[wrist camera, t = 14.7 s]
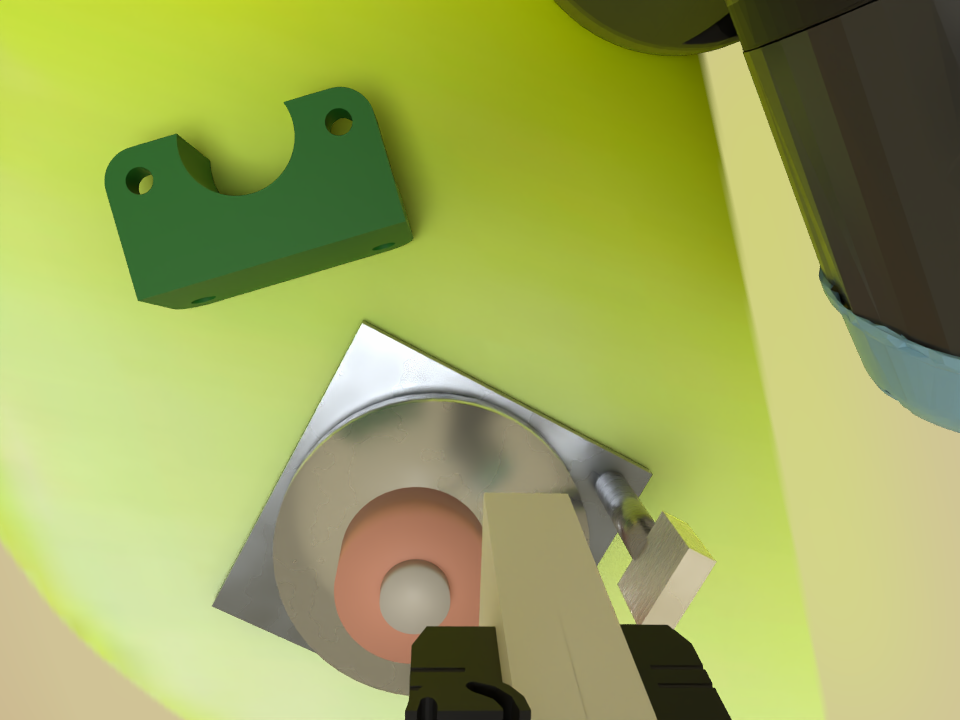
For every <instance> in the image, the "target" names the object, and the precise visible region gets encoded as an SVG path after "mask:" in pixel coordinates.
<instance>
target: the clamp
mask: <svg viewBox="0 0 960 720" xmlns="http://www.w3.org/2000/svg"><path fill="white" fill-rule="evenodd" d="M284 104H285V105H286V107H287V109H288V110H289V112H290V115H291V117H292V121H293V124H294V131H295V143H294V149H293V153H292V156H291V159H290V161H289V163H288V165H287V167H286V168H285V170H284V171H283V173H282V174H281V175H280V176H279V177H278V178H277V179H276V180H275V181H274V182H273V183H272V184H270V185H269V186H267V187H266V188H264V189H262V190H260V191H258V192H255V193H252V194H248V195H241V196H229V195H223V194H219V192H218V190H217V189H216V186H215V184H214V181H213V178H212V173H211V166H210V161H209V160H208V159H207V158H206V157H205V156H203V155H202V154H201V153H200V152H198V151H197V150H196V149H195V148H193V147H192V146H191V145H190V144H189V143H187V142H186V141H185V140H184V139H182V138H181V137H180V136H179V135H178V134H174V135H171V136H167V137H164V138H160V139H157V140H154V141H150V142H147V143H144V144H140V145H137V146H133V147H130V148H127V149H125V150H123V151H121V152H120V153H118V154H117V155H116V156H115V157H114V158H113V159H112V160H111V162H110V163H109V165H108V167H107V170H106V173H105V189H106V193H107V196H108V199H109V203H110V206H111V210H112V213H113V217H114V220H115V224H116V227H117V230H118V234H119V237H120V241H121V244H122V248H123V251H124V254H125V258H126V261H127V265H128V268H129V272H130V275H131V279H132V282H133V285H134V289H135V292H136V296H137V299H138V301H141V302H146V303H150V304H154V305H159V306H163V307H167V308H172V309H187V308H193V307H198V306H202V305H206V304H210V303H214V302H217V301H220V300H224V299H227V298H230V297H234V296H237V295H240V294H244V293H247V292H251V291H254V290H257V289H261V288H264V287H267V286H271V285H274V284H278V283H281V282H284V281H288V280H291V279H294V278H298V277H301V276H304V275H308V274H311V273H315V272H318V271H321V270H325V269H328V268H331V267H335V266H338V265H341V264H345V263H348V262H352V261H355V260H358V259H362V258H365V257H368V256H372V255H375V254H379V253H382V252H385V251H389V250H392V249H395V248H397V247H400V246H402V245H405V244H407V243H409V242H410V241H412V240H413V234H412V231H411V228H410V224H409V221H408V218H407V214H406V211H405V208H404V204H403V201H402V197H401V194H400V191H399V189H398V187H397V184H396V182H395V179H394V176H393V173H392V169H391V166H390V163H389V159H388V156H387V153H386V149H385V146H384V143H383V139H382V136H381V133H380V129H379V126H378V122H377V120H376V117H375V114H374V112H373V109H372V107H371V105H370V103H369V102H368V100H367V99H366V98H365V97H364V96H363V95H362V94H360V93H359V92H357V91H355V90H353V89H350V88H346V87H334V88H330V89H326V90H323V91H320V92H316V93H313V94H309V95H306V96H303V97H299V98H296V99H293V100H289V101H286V102H284ZM341 118H347V119H350V120H351V121H353V123H352V127H351V129H350V131H349V132H348V133H346V134H344V135H341V136H336V135H333V134H331V127H332V125H333V123H334V122H335V121H336V120H338V119H341ZM148 175H152V176H153V186H152V188H151V189H150V190H149V191H148V192H147V193H145V194H141V195H140V193H139V184H140V182H141V180H142V179H143V178H144V177H146V176H148Z"/></svg>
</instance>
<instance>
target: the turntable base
mask: <svg viewBox="0 0 960 720" xmlns="http://www.w3.org/2000/svg"><path fill="white" fill-rule="evenodd" d="M427 393H439V394H454V395H460V396H465V397H471V398H475V399H478V400H481V401H484V402H487V403H491V404H493V405H495V406H498V407H500V408H502V409H504V410H506V411H508V412H510V413H512V414H514V415H515V416H517V417H518V418H520V419H521V420H523V421H524V422H526V423H527V424H529V425H530V426H531V427H532V428H533V429H535V430H536V431H537V432H538V433H539V434H540V435H542V436H543V437H544V439H545V440H546V441H547V442H548V443H549V444H550V445H551V446H552V447H553V449H554V450H555V451H556V452H557V454H558V455H559V457H560V458H561V460H562V461H563V463H564V464H565V466H566V468H567V470H568V472H569V474H570V476H571V478H572V480H573V482H574V484H575V486H576V488H577V490H578V492H579V494H580V497H581V500H582V503H583V506H584V509H585V512H586V517H587V523H588V528H589V542H590V551H591V553H592V556H593V558H594V561H595V563H596V566H597V565H598V563H599V562H600V560H601V558H602V557H603V555H604V553H605V552H606V550H607V549H608V547H609V545H610V544H611V542H612V540H613V539H614V537H615V535H616V534H617V532H618V533H619V535H620V537H621V539H622V541H623V542H624V544H625V546H626V548H627V550H628V551H629V553H630V555H631V557H632V559H633V560H632V561H631V563H630V565H629V566H628V568H627V569H626V571H625V573H624V574H623V576H622V578H621V579H620V581H619V583H618V586H619V588H620V590H621V592H622V595H623V597H624V599H625V601H626V603H627V605H628V607H629V609H630V611H631V613H632V615H633V617H634V619H635V622H636V624H647V625H669V626H670V627H671V628H672V629H674V628H675V627H676V625H677V624H678V622H679V620H680V619H681V617H682V616H683V614H684V613H685V611H686V609H687V608H688V606H689V605H690V603H691V601H692V600H693V598H694V597H695V595H696V594H697V592H698V590H699V589H700V587H701V586H702V584H703V582H704V581H705V579H706V578H707V576H708V575H709V573H710V571H711V570H712V568H713V567H714V565H715V563H716V561H715V559H714V558H713V557H712V555H711V554H710V553H709V551H708V550H707V549H706V547H705V546H704V545H703V543H702V542H701V541H700V539H699V538H698V537H697V536H696V534H695V533H694V532H693V530H692V529H691V528H690V526H689V525H688V524H687V523H685V522H684V521H682V520H680V519H678V518H676V517H674V516H672V515H670V514H668V513H666V512H664V511H662V512H661V514H660V516H659V517H658V519H657V521H656V522H654V521H653V519H652V518H651V516H650V515H649V513H648V512H647V510H646V509H645V507H644V506H643V504H642V503H641V501H640V500H639V498H638V497H639V496H640V494H641V493H642V491H643V489H644V488H645V486H646V484H647V483H648V481H649V479H650V478H651V476H652V473H651V472H650V470H649V469H647V468H646V467H644V466H642V465H640V464H638V463H636V462H634V461H632V460H630V459H628V458H626V457H624V456H623V455H621V454H619V453H617V452H615V451H613V450H611V449H609V448H607V447H605V446H603V445H601V444H599V443H598V442H596V441H594V440H592V439H590V438H588V437H586V436H584V435H582V434H580V433H578V432H576V431H575V430H573V429H571V428H569V427H567V426H565V425H563V424H561V423H559V422H557V421H555V420H553V419H551V418H550V417H548V416H546V415H544V414H542V413H540V412H538V411H536V410H534V409H532V408H530V407H528V406H527V405H525V404H523V403H521V402H519V401H517V400H515V399H513V398H511V397H509V396H507V395H505V394H503V393H502V392H500V391H498V390H496V389H494V388H492V387H490V386H488V385H486V384H484V383H482V382H480V381H479V380H477V379H475V378H473V377H471V376H469V375H467V374H465V373H463V372H461V371H459V370H457V369H455V368H454V367H452V366H450V365H448V364H446V363H444V362H442V361H440V360H438V359H436V358H434V357H432V356H431V355H429V354H427V353H425V352H423V351H421V350H419V349H417V348H415V347H413V346H411V345H409V344H407V343H406V342H404V341H402V340H400V339H398V338H396V337H394V336H392V335H390V334H388V333H386V332H384V331H383V330H381V329H379V328H377V327H375V326H373V325H371V324H369V323H367V322H365V321H363V322H362V324H361V326H360V327H359V329H358V331H357V333H356V335H355V337H354V339H353V341H352V343H351V344H350V346H349V348H348V350H347V352H346V354H345V356H344V358H343V359H342V361H341V363H340V365H339V367H338V369H337V371H336V373H335V375H334V376H333V378H332V380H331V382H330V384H329V386H328V388H327V390H326V391H325V393H324V395H323V397H322V399H321V401H320V403H319V405H318V406H317V408H316V410H315V412H314V414H313V416H312V418H311V420H310V422H309V423H308V425H307V427H306V429H305V431H304V433H303V435H302V437H301V438H300V440H299V442H298V444H297V446H296V448H295V450H294V452H293V454H292V455H291V457H290V459H289V461H288V463H287V465H286V467H285V469H284V470H283V472H282V474H281V476H280V478H279V480H278V482H277V484H276V486H275V487H274V489H273V491H272V493H271V495H270V497H269V499H268V501H267V502H266V504H265V506H264V508H263V510H262V512H261V514H260V516H259V517H258V519H257V521H256V523H255V525H254V527H253V529H252V531H251V533H250V534H249V536H248V538H247V540H246V542H245V544H244V546H243V548H242V549H241V551H240V553H239V555H238V557H237V559H236V561H235V563H234V565H233V566H232V568H231V570H230V572H229V574H228V576H227V578H226V580H225V581H224V583H223V585H222V587H221V589H220V591H219V593H218V595H217V597H216V598H215V601H214V603H213V605H212V606H213V607H215V608H217V609H219V610H221V611H224V612H226V613H228V614H230V615H233V616H235V617H237V618H239V619H242V620H244V621H246V622H248V623H250V624H253V625H255V626H257V627H259V628H262V629H264V630H266V631H268V632H271V633H273V634H275V635H277V636H279V637H282V638H284V639H286V640H288V641H291V642H293V643H295V644H297V645H300V646H302V647H304V648H306V649H308V650H311V651H313V652H315V651H314V650H313V649H312V648H311V647H310V646H309V645H308V644H307V642H306V641H305V640H304V639H303V637H302V636H301V635H300V634H299V632H298V631H297V629H296V628H295V626H294V624H293V623H292V621H291V619H290V618H289V616H288V614H287V612H286V610H285V607H284V605H283V602H282V600H281V598H280V595H279V591H278V587H277V583H276V579H275V573H274V564H273V538H274V532H275V527H276V521H277V517H278V514H279V511H280V508H281V505H282V501H283V499H284V496H285V494H286V491H287V488H288V486H289V484H290V482H291V480H292V478H293V476H294V474H295V472H296V470H297V469H298V467H299V466H300V464H301V463H302V461H303V460H304V458H305V457H306V455H307V454H308V453H309V451H310V450H311V449H312V448H313V447H314V446H315V445H316V443H317V442H318V441H319V440H320V439H321V438H322V437H323V436H325V435H326V434H327V433H328V432H329V431H330V430H331V429H333V428H334V427H335V426H336V425H338V424H339V423H341V422H342V421H344V420H345V419H347V418H348V417H350V416H351V415H353V414H355V413H357V412H359V411H361V410H363V409H365V408H367V407H369V406H371V405H374V404H377V403H380V402H383V401H386V400H389V399H392V398H397V397H402V396H407V395H413V394H427ZM315 653H316V652H315Z"/></svg>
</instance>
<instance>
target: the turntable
mask: <svg viewBox="0 0 960 720" xmlns="http://www.w3.org/2000/svg"><path fill="white" fill-rule="evenodd" d="M407 487H425V488H431V489H436V490H439V491H442V492H445V493H447V494H449V495H451V496H453V497H455V498H456V499H458V500H460V501H461V502H462V503H464V504H465V505H466V506H467V507H468V508H469V509H470V510H471V511H472V512H473V513H474V514H475V516H476V517H477V519H478V520H479V522H480V524H481V525H482V527H483V500H484V493H557V494H568V495H569V498H570V500H571V503H572V505H573V508H574V510H575V513H576V515H577V518H578V520H579V523H580V525H581V528H582V531H583V533H584V536H585V538H586V541H587V543H588V546H589V548H590V542H589V528H588V523H587V517H586V512H585V509H584V506H583V503H582V500H581V497H580V494H579V492H578V490H577V488H576V486H575V484H574V482H573V480H572V478H571V476H570V474H569V472H568V470H567V468H566V466H565V464H564V463H563V461H562V460H561V458H560V457H559V455H558V454H557V452H556V451H555V450H554V449H553V447H552V446H551V445H550V444H549V443H548V442H547V441H546V440H545V439H544V437H543V436H542V435H540V434H539V433H538V432H537V431H536V430H535V429H533V428H532V427H531V426H530V425H529V424H527V423H526V422H524V421H523V420H521V419H520V418H518V417H517V416H515V415H514V414H512V413H510V412H508V411H506V410H504V409H502V408H500V407H498V406H495V405H493V404H491V403H487V402H484V401H481V400H478V399H475V398H471V397H465V396H460V395H454V394H439V393H427V394H413V395H407V396H402V397H397V398H392V399H389V400H386V401H383V402H380V403H377V404H374V405H371V406H369V407H367V408H365V409H363V410H361V411H359V412H357V413H355V414H353V415H351V416H350V417H348V418H347V419H345V420H344V421H342V422H341V423H339V424H338V425H336V426H335V427H334V428H333V429H331V430H330V431H329V432H328V433H327V434H326V435H325V436H323V437H322V438H321V439H320V440H319V441H318V442H317V443H316V445H315V446H314V447H313V448H312V449H311V450H310V451H309V453H308V454H307V455H306V457H305V458H304V460H303V461H302V463H301V464H300V466H299V467H298V469H297V470H296V472H295V474H294V476H293V478H292V480H291V482H290V484H289V486H288V488H287V491H286V494H285V496H284V499H283V501H282V505H281V508H280V511H279V514H278V517H277V521H276V527H275V532H274V538H273V564H274V573H275V579H276V583H277V587H278V591H279V595H280V598H281V600H282V602H283V605H284V607H285V610H286V612H287V614H288V616H289V618H290V619H291V621H292V623H293V624H294V626H295V628H296V629H297V631H298V632H299V634H300V635H301V636H302V637H303V639H304V640H305V641H306V642H307V644H308V645H309V646H310V647H311V648H312V649H313V650H314V651H315V652H316V653H317V654H318V655H319V656H320V657H321V658H322V659H323V660H325V661H326V662H327V663H329V664H330V665H331V666H333V667H334V668H336V669H337V670H338V671H340V672H341V673H343V674H345V675H347V676H349V677H350V678H352V679H354V680H356V681H358V682H361V683H363V684H366V685H368V686H370V687H373V688H376V689H379V690H383V691H387V692H391V693H395V694H402V695H408V696H409V691H410V668H411V664H405V663H398V662H393V661H389V660H386V659H383V658H381V657H378V656H376V655H374V654H372V653H370V652H369V651H367V650H366V649H364V648H363V647H362V646H360V645H359V644H358V643H357V642H356V641H355V640H354V639H353V638H352V637H351V636H350V635H349V633H348V632H347V631H346V629H345V628H344V626H343V624H342V623H341V621H340V618H339V616H338V613H337V610H336V606H335V600H334V582H335V577H336V572H337V567H338V561H339V556H340V551H341V546H342V540H343V537H344V535H345V532H346V530H347V528H348V526H349V524H350V522H351V521H352V519H353V518H354V516H355V515H356V514H357V513H358V512H359V511H360V510H361V508H363V507H364V506H365V505H366V504H367V503H369V502H370V501H372V500H373V499H375V498H376V497H378V496H380V495H382V494H384V493H387V492H390V491H392V490H396V489H401V488H407Z"/></svg>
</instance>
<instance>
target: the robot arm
mask: <svg viewBox="0 0 960 720" xmlns="http://www.w3.org/2000/svg"><path fill="white" fill-rule="evenodd" d="M554 1H555V2H556V3H557V4H558V5H559V6H560V7H561V8H562V9H563V10H564V11H565V12H566V13H567V14H568V15H569V16H570V17H572V18H573V19H574V20H575V21H577V22H578V23H579V24H580V25H582V26H583V27H585V28H586V29H588V30H589V31H591V32H592V33H594V34H596V35H597V36H599V37H601V38H603V39H605V40H607V41H609V42H611V43H613V44H616V45H619V46H621V47H624V48H627V49H630V50H634V51H638V52H643V53H648V54H655V55H668V56H679V55H692V54H699V53H704V52H709V51H712V50H716V49H720V48H723V47H726V46H728V45H731V44H734V43H736V42H739V41H740V42H741V45H742V48H743V50H744V52H743V54H744V57H745V60H746V62H747V65H748V68H749V71H750V73H751V76H752V79H753V81H754V84H755V87H756V90H757V93H758V95H759V98H760V101H761V104H762V106H763V109H764V112H765V115H766V117H767V120H768V123H769V125H770V128H771V131H772V134H773V136H774V139H775V142H776V145H777V148H778V150H779V153H780V156H781V159H782V161H783V164H784V166H785V169H786V172H787V175H788V178H789V181H790V183H791V186H792V189H793V192H794V194H795V197H796V200H797V203H798V205H799V208H800V211H801V213H802V216H803V219H804V222H805V225H806V227H807V230H808V233H809V236H810V238H811V241H812V244H813V247H814V249H815V252H816V254H817V258H818V260H819V263H820V271H819V278H820V281H821V284H822V286H823V289H824V292H825V294H826V296H827V297H828V299H829V300H830V302H831V303H832V305H833V306H834V307H835V308H836V309H837V310H838V311H839V312H840V313H841V314H842V316H843V319H844V321H845V323H846V326H847V328H848V330H849V333H850V335H851V337H852V339H853V342H854V344H855V346H856V349H857V351H858V353H859V355H860V358H861V360H862V362H863V365H864V367H865V369H866V371H867V372H868V374H869V376H870V377H871V378H872V380H873V381H874V382H875V383H876V384H877V386H878V387H879V388H880V389H881V390H882V391H883V392H884V393H885V394H887V395H888V396H890V397H892V398H894V399H895V400H898V401H899V402H900V403H901V404H902V406H903V407H905V408H907V409H908V410H910V411H911V412H912V413H913V414H915V415H916V416H918V417H920V418H922V419H924V420H926V421H928V422H931V423H933V424H936V425H938V426H941V427H943V428H946V429H949V430H952V431H955V432H958V433H960V0H554ZM405 720H731V718H730V716H729V714H728V712H727V710H726V708H725V706H724V704H723V703H722V701H721V699H720V697H719V695H718V693H717V691H716V689H715V688H713V687H712V682H711V680H710V678H709V676H708V674H707V672H706V670H703V665H702V663H701V661H700V659H699V657H698V655H697V653H696V651H695V649H694V647H693V646H692V644H691V643H690V642H689V641H688V640H686V639H685V638H684V637H683V636H681V635H680V634H679V633H678V632H676V631H675V630H674V629H672V628H671V627H670V626H669V625H647V624H619V622H618V619H617V617H616V614H615V611H614V609H613V606H612V604H611V601H610V599H609V596H608V594H607V591H606V589H605V586H604V584H603V581H602V579H601V576H600V574H599V571H598V568H597V566H596V563H595V561H594V558H593V556H592V553H591V551H590V548H589V546H588V543H587V541H586V538H585V536H584V533H583V531H582V528H581V525H580V523H579V520H578V518H577V515H576V513H575V510H574V508H573V505H572V503H571V500H570V498H569V495H568V494H557V493H484V500H483V528H482V556H481V584H480V611H479V626H427V627H426V628H425V629H424V630H423V632H422V633H421V634H420V635H419V637H418V638H417V639H416V640H415V642H414V643H413V644H412V646H411V668H410V691H409V702H408V705H407V708H406V710H405Z"/></svg>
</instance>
